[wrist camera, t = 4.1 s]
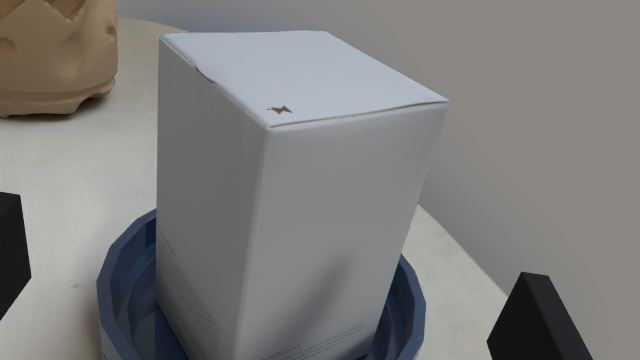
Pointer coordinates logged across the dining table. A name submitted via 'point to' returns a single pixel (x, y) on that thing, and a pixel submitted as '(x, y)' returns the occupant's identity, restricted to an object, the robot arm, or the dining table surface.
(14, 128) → the dining table surface
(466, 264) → the dining table surface
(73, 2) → the container
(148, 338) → the bowl
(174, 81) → the rectangular carton
